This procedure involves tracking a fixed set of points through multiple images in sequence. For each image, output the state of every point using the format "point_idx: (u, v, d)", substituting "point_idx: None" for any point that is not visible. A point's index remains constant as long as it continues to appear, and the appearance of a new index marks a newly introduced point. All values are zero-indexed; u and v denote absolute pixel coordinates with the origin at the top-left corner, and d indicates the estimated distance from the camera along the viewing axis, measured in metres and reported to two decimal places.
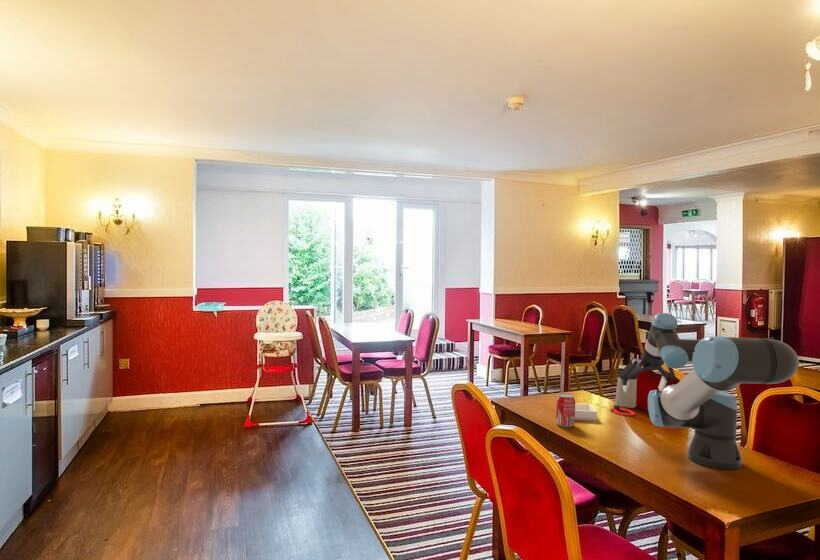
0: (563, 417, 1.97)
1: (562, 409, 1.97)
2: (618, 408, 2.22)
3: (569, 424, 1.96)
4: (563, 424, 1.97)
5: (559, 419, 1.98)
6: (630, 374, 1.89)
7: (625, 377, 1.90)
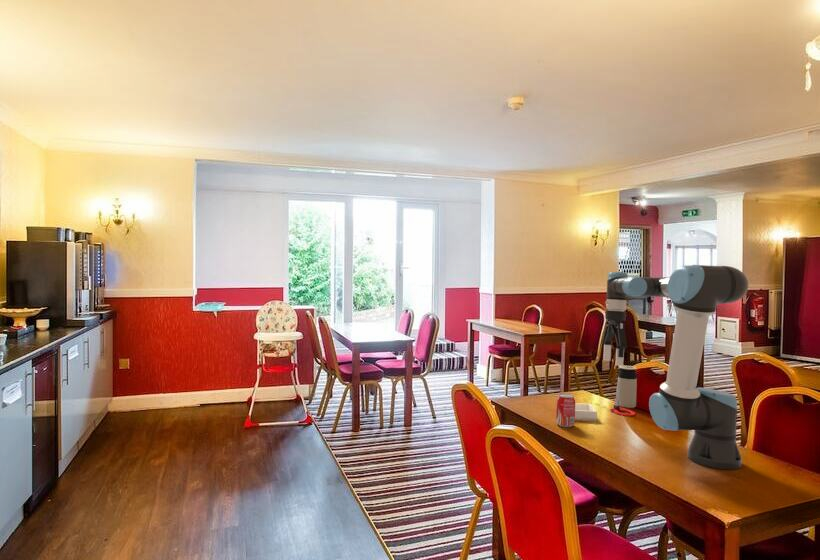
0: (563, 417, 1.97)
1: (562, 409, 1.97)
2: (618, 408, 2.22)
3: (569, 424, 1.96)
4: (563, 424, 1.97)
5: (559, 419, 1.98)
6: None
7: None
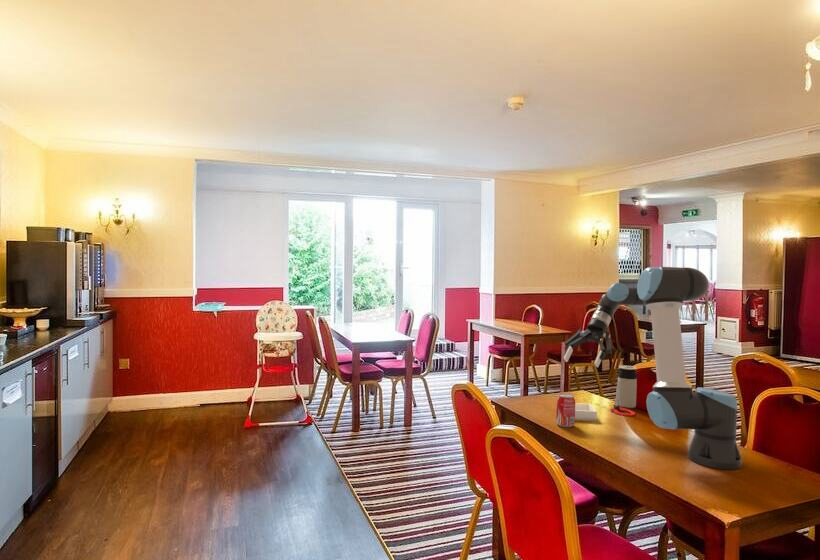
0: (563, 417, 1.97)
1: (562, 409, 1.97)
2: (618, 408, 2.22)
3: (569, 424, 1.96)
4: (563, 424, 1.97)
5: (559, 419, 1.98)
6: None
7: None
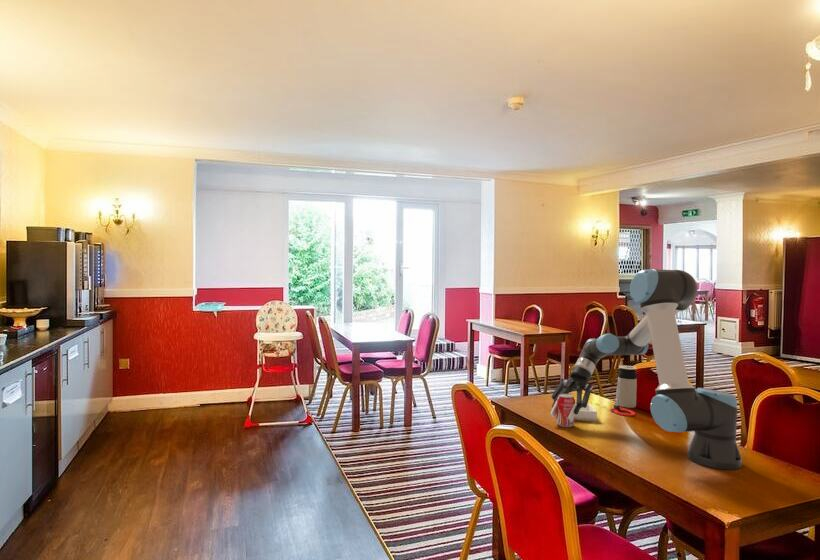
0: (563, 417, 1.97)
1: (562, 409, 1.97)
2: (618, 408, 2.22)
3: (569, 424, 1.96)
4: (563, 424, 1.97)
5: (559, 419, 1.98)
6: (581, 401, 1.99)
7: None
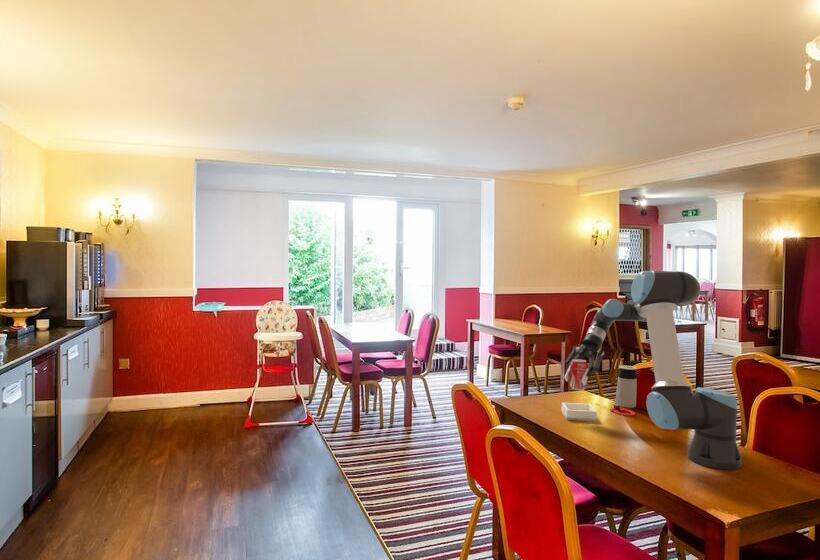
0: (576, 380, 2.08)
1: (575, 373, 2.08)
2: (618, 408, 2.22)
3: (582, 387, 2.08)
4: (576, 387, 2.08)
5: (573, 382, 2.09)
6: (593, 365, 2.10)
7: None
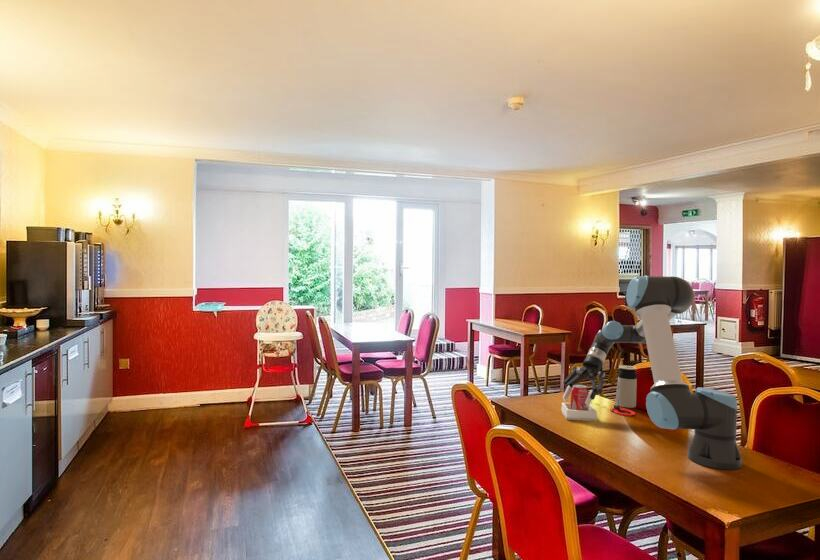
0: (577, 406, 2.09)
1: (576, 399, 2.10)
2: (618, 408, 2.22)
3: None
4: None
5: (573, 408, 2.11)
6: (596, 387, 2.11)
7: None
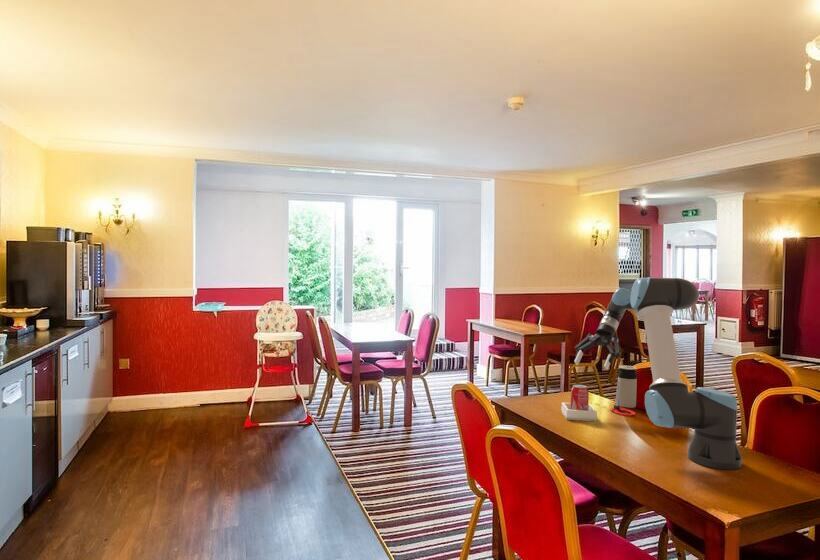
0: (577, 406, 2.09)
1: (576, 399, 2.10)
2: (618, 408, 2.22)
3: None
4: None
5: (573, 408, 2.11)
6: None
7: None
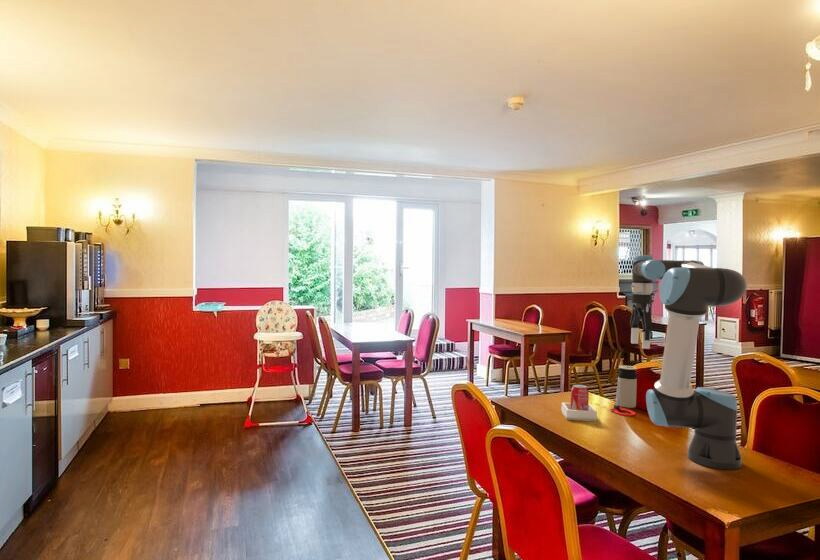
0: (577, 406, 2.09)
1: (576, 399, 2.10)
2: (618, 408, 2.22)
3: None
4: None
5: (573, 408, 2.11)
6: None
7: None
